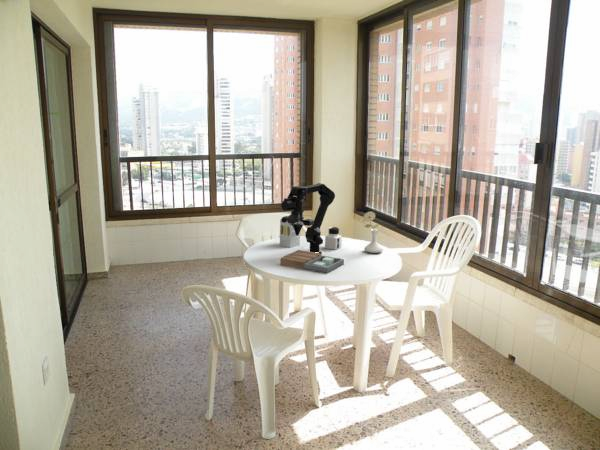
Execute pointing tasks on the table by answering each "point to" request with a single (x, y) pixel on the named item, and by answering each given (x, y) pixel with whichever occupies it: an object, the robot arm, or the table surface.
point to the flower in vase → (373, 246)
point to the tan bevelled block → (298, 258)
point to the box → (327, 268)
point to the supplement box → (288, 235)
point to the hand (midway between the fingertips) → (297, 235)
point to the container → (333, 239)
